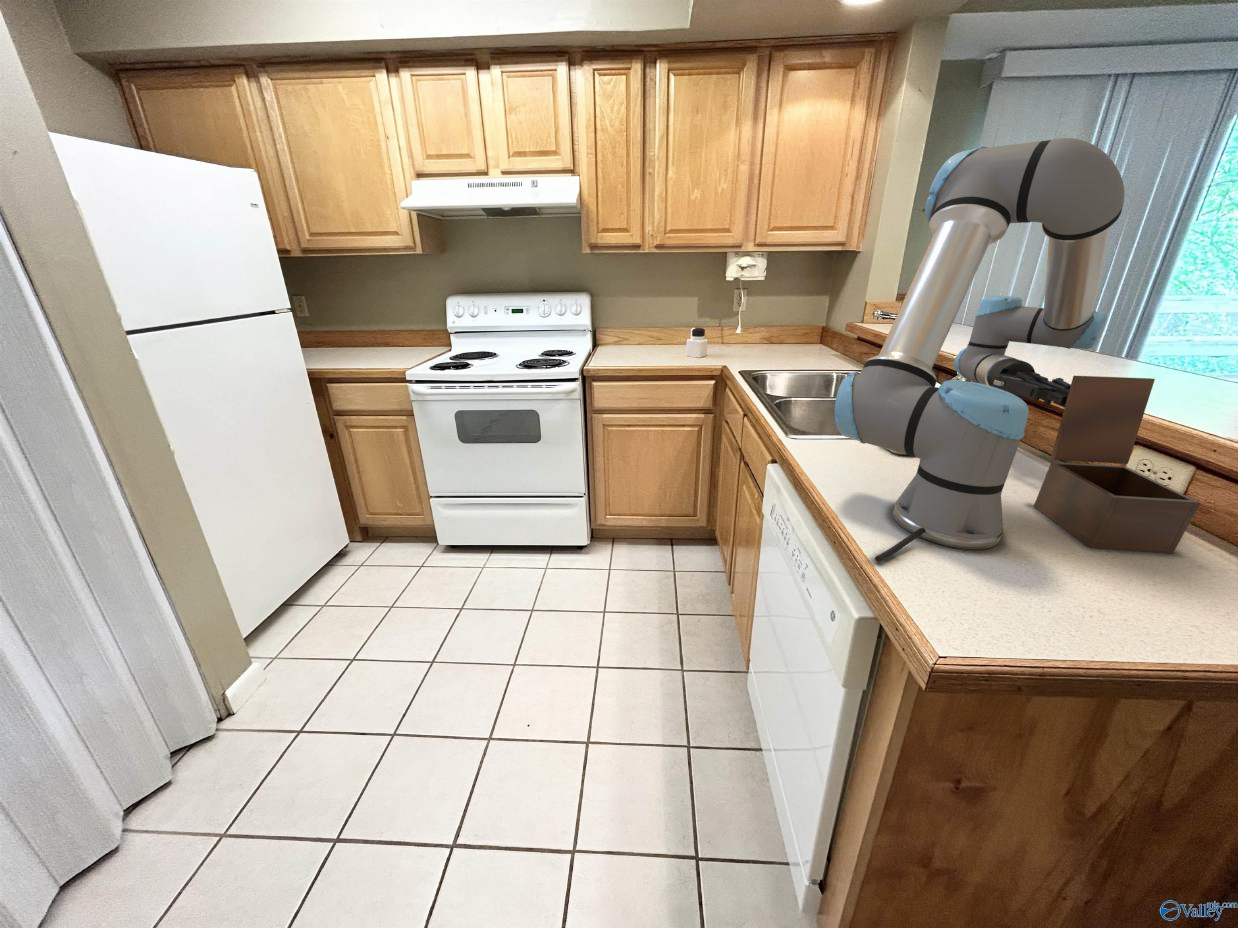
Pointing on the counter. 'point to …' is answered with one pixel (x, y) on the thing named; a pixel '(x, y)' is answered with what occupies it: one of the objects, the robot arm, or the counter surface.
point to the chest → (1115, 507)
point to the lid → (1101, 419)
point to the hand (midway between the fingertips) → (1085, 405)
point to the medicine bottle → (697, 343)
